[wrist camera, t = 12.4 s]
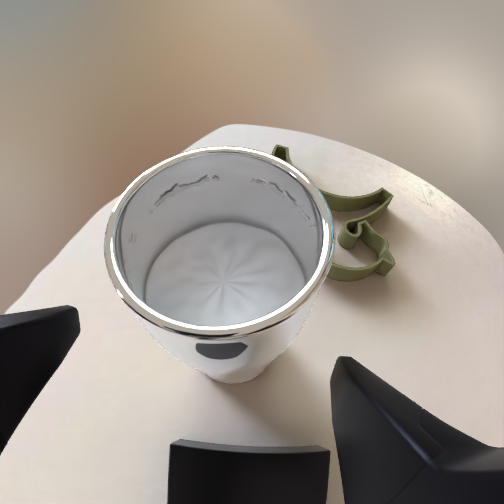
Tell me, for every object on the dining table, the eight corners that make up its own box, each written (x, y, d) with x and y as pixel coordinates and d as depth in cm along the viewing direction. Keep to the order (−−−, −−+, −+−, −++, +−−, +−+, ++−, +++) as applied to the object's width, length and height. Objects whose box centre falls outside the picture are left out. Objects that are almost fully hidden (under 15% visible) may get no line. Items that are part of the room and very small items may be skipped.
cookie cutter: (401, 212, 28) (408, 201, 26) (377, 303, 22) (387, 293, 21) (260, 150, 32) (261, 136, 30) (201, 216, 26) (198, 202, 25)
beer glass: (289, 377, 19) (384, 306, 6) (196, 397, 18) (96, 367, 5) (265, 294, 23) (294, 132, 10) (180, 311, 22) (107, 163, 9)
